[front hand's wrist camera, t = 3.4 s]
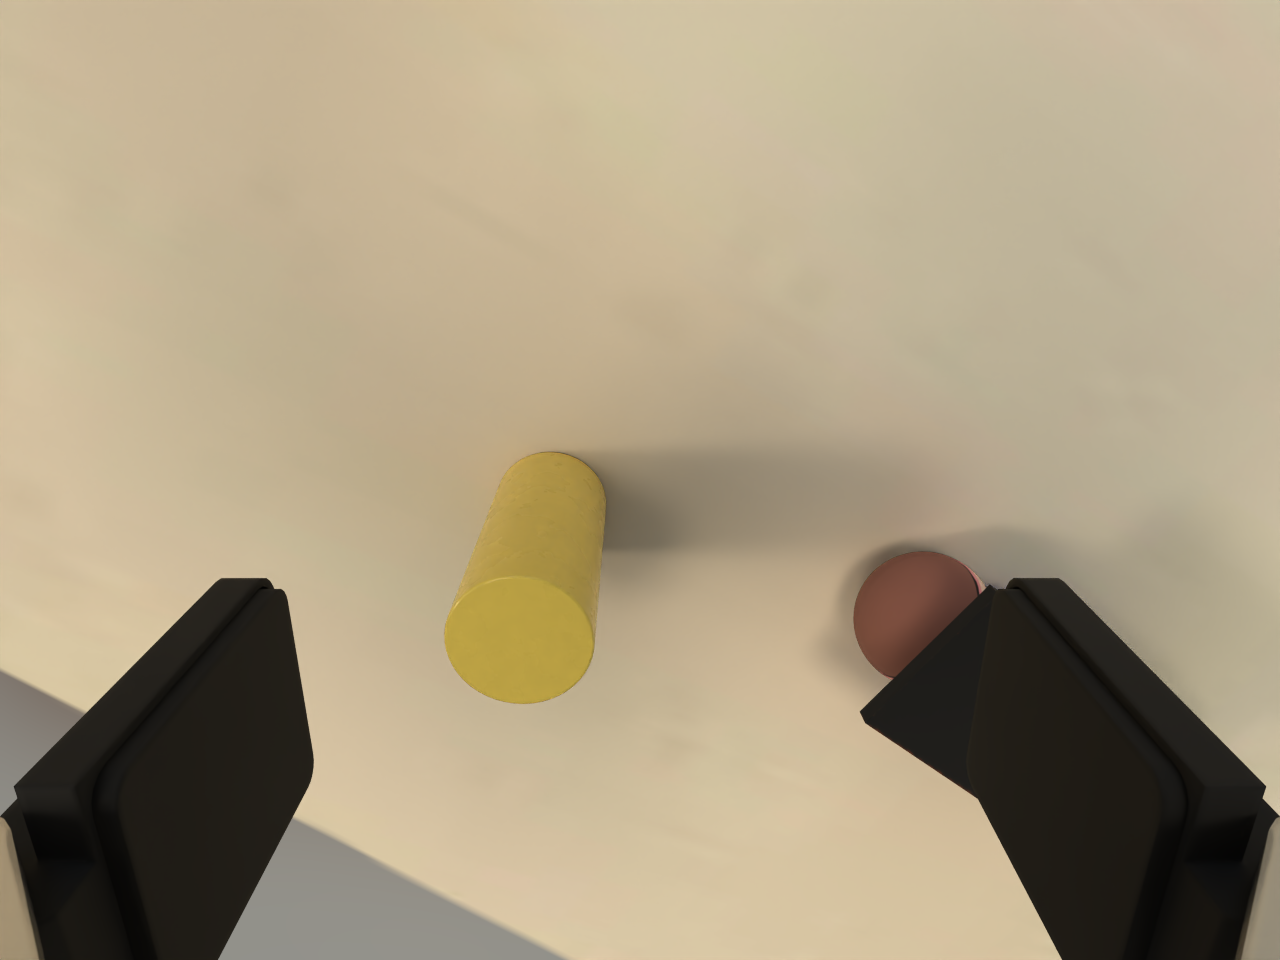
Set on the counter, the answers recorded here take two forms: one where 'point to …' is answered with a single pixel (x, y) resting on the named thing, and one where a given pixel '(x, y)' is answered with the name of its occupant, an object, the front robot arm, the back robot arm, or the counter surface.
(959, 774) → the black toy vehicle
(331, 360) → the counter surface
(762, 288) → the counter surface
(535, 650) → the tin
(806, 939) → the counter surface
